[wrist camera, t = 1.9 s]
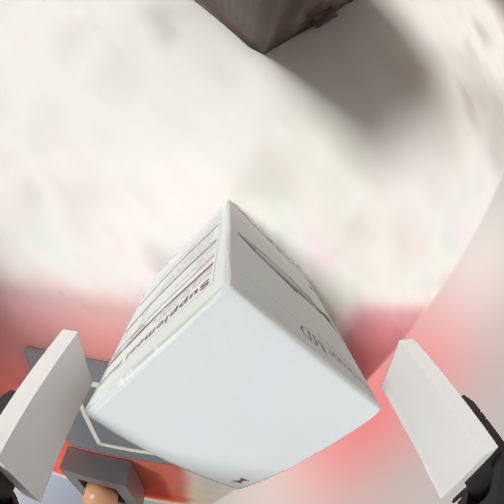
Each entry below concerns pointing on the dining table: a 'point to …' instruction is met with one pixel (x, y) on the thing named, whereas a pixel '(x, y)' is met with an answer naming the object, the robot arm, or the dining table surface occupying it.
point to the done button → (100, 494)
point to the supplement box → (232, 362)
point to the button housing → (103, 474)
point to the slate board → (88, 430)
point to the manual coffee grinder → (271, 18)
